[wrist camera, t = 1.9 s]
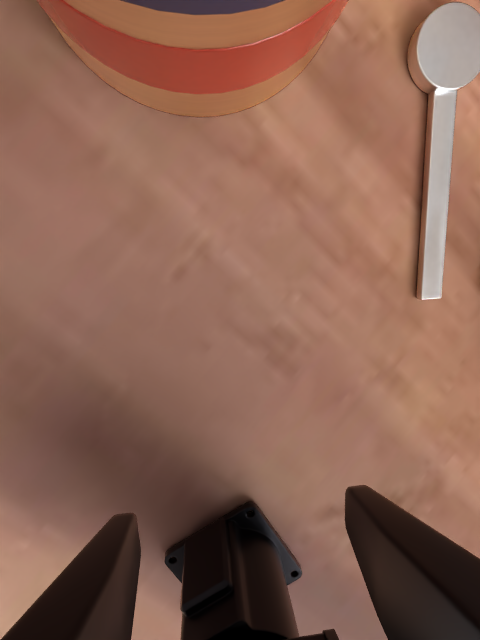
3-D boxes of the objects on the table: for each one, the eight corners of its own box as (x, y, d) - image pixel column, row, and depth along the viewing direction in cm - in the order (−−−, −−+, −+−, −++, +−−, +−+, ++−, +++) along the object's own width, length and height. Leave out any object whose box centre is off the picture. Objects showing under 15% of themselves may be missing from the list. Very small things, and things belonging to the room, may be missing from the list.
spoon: (455, 295, 20) (466, 297, 19) (395, 300, 19) (403, 302, 18) (479, 12, 17) (493, 1, 16) (408, 12, 16) (419, 0, 15)
